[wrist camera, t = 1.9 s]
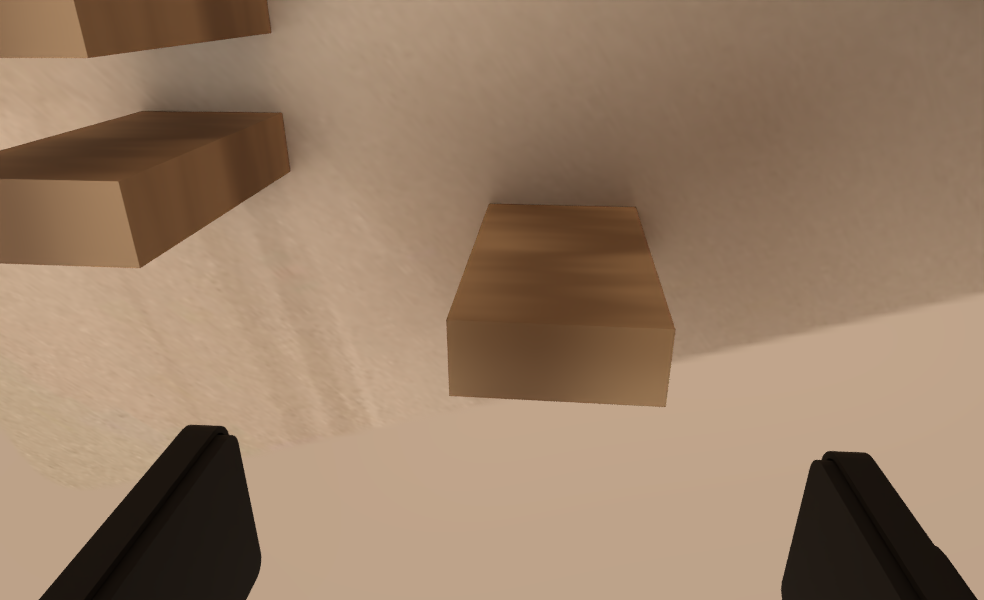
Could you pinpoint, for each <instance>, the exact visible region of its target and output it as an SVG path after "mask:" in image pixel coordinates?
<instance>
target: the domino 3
mask: <svg viewBox="0 0 984 600" xmlns="http://www.w3.org/2000/svg"><path fill="white" fill-rule="evenodd" d="M446 322H447V347H448V373H449V396H463V397H482V398H501V399H522V400H542V401H560V402H578V403H579V402H580V403H598V404H617V405H636V406H655V407H656V406H657V407H666V399H667V392H668V384H669V376H670V368H671V360H672V352H673V344H674V336H675V327H674V324H673V321H672V318H671V314H670V311H669V308H668V305H667V302H666V299H665V296H664V293H663V290H662V287H661V284H660V281H659V278H658V274H657V271H656V268H655V265H654V262H653V259H652V256H651V253H650V250H649V247H648V244H647V241H646V238H645V234H644V231H643V228H642V225H641V222H640V219H639V216H638V213H637V210H636V207H605V206H563V205H521V204H489V205H488V208H487V211H486V214H485V216H484V219H483V222H482V225H481V227H480V230H479V233H478V235H477V238H476V241H475V244H474V246H473V249H472V252H471V254H470V257H469V260H468V263H467V265H466V268H465V271H464V274H463V276H462V279H461V282H460V284H459V287H458V290H457V293H456V295H455V298H454V301H453V303H452V306H451V309H450V312H449V314H448V317H447V320H446Z"/></svg>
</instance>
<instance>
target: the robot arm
mask: <svg viewBox="0 0 984 600" xmlns="http://www.w3.org/2000/svg"><path fill="white" fill-rule="evenodd" d="M260 566H261V552H260V547H259V542H258V537H257V532H256V527H255V522H254V517H253V512H252V507H251V502H250V497H249V492H248V488H247V483H246V478H245V473H244V468H243V463H242V458H241V453H240V448H239V443H238V440H237V438H236V437H235V436H233V435H229V434H228V431H227V429H226V428H225V427H223V426H209V425H188V426H186V427H185V428H184V429H183V430H182V431H181V432H180V433H179V434H178V435H177V437H176V438H175V439H174V440H173V441H172V443H171V444H170V445H169V446H168V447H167V448H166V450H165V451H164V452H163V453H162V454H161V456H160V457H159V458H158V459H157V460H156V462H155V463H154V464H153V465H152V466H151V467H150V469H149V470H148V471H147V472H146V473H145V475H144V476H143V477H142V478H141V479H140V480H139V482H138V483H137V484H136V485H135V486H134V488H133V489H132V490H131V491H130V492H129V494H128V495H127V496H126V497H125V498H124V500H123V501H122V502H121V503H120V504H119V505H118V507H117V508H116V509H115V510H114V512H113V513H112V514H111V515H110V516H109V517H108V518H107V520H106V521H105V522H104V523H103V524H102V526H101V527H100V528H99V529H98V530H97V531H96V533H95V534H94V535H93V536H92V537H91V539H90V540H89V541H88V542H87V544H85V546H84V547H83V548H82V549H81V551H80V552H79V553H78V554H77V555H76V556H75V558H74V559H73V560H72V561H71V562H70V563H69V565H68V566H67V567H66V568H65V569H64V571H63V572H62V573H61V574H60V575H59V577H58V578H57V579H56V580H55V581H54V583H53V584H52V585H51V586H50V587H49V588H48V590H47V591H46V592H45V593H44V594H43V596H42V597H41V598H40V599H39V600H246V599H247V597H248V595H249V593H250V591H251V589H252V587H253V585H254V583H255V581H256V579H257V577H258V574H259V571H260ZM781 592H782V600H977V598H976V597H975V595H974V594H973V593H972V591H971V590H970V588H969V587H968V586H967V584H966V583H965V581H964V580H963V579H962V577H961V576H960V574H959V573H958V572H957V570H956V569H955V567H954V566H953V565H952V563H951V562H950V560H949V559H948V558H947V556H946V555H945V554H944V553H943V552H942V551H941V550H940V549H939V548H938V547H937V546H935V545H934V544H933V543H932V541H931V540H930V538H929V537H928V536H927V534H926V533H925V531H924V530H923V529H922V527H921V526H920V524H919V523H918V521H917V520H916V519H915V517H914V516H913V514H912V513H911V512H910V510H909V509H908V507H907V506H906V504H905V503H904V502H903V500H902V499H901V498H900V496H899V495H898V493H897V492H896V490H895V489H894V488H893V486H892V485H891V483H890V482H889V480H888V479H887V478H886V476H885V475H884V473H883V472H882V471H881V469H880V468H879V466H878V465H877V464H876V462H875V461H874V460H873V458H872V457H871V456H870V455H869V454H867V453H860V452H837V451H828V452H826V453H825V454H824V455H823V457H822V460H815V461H813V462H812V464H811V466H810V470H809V474H808V478H807V482H806V486H805V490H804V495H803V498H802V502H801V507H800V511H799V515H798V519H797V523H796V527H795V531H794V535H793V539H792V544H791V547H790V551H789V556H788V560H787V564H786V568H785V572H784V576H783V580H782V586H781Z"/></svg>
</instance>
